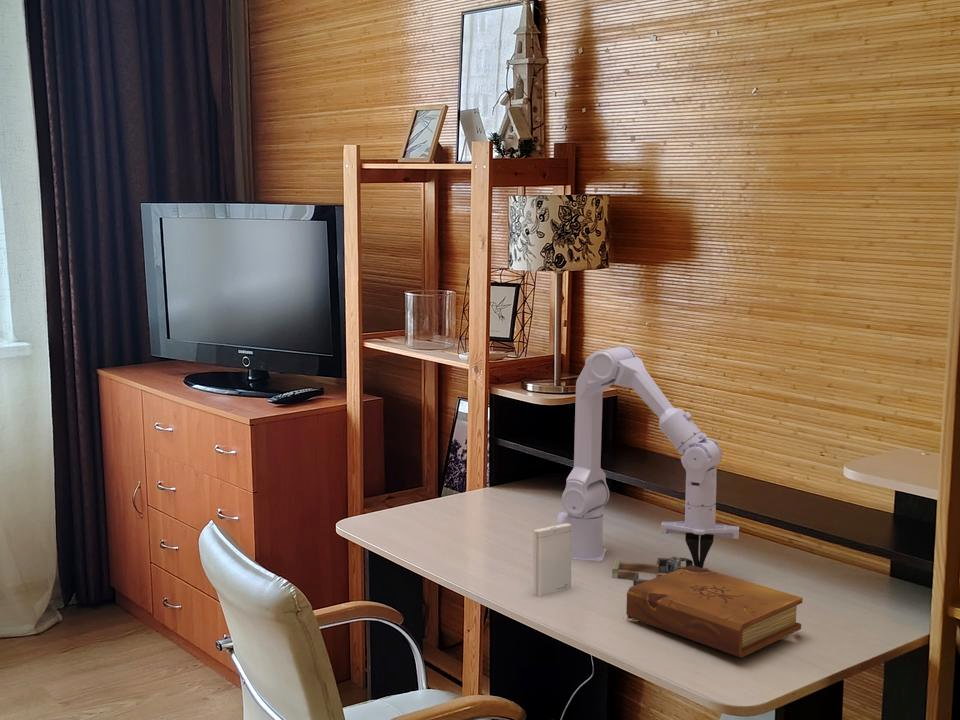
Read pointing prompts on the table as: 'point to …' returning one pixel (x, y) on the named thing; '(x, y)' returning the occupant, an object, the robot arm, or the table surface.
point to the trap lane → (639, 570)
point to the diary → (715, 609)
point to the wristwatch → (676, 564)
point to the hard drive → (552, 559)
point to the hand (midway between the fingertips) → (698, 571)
